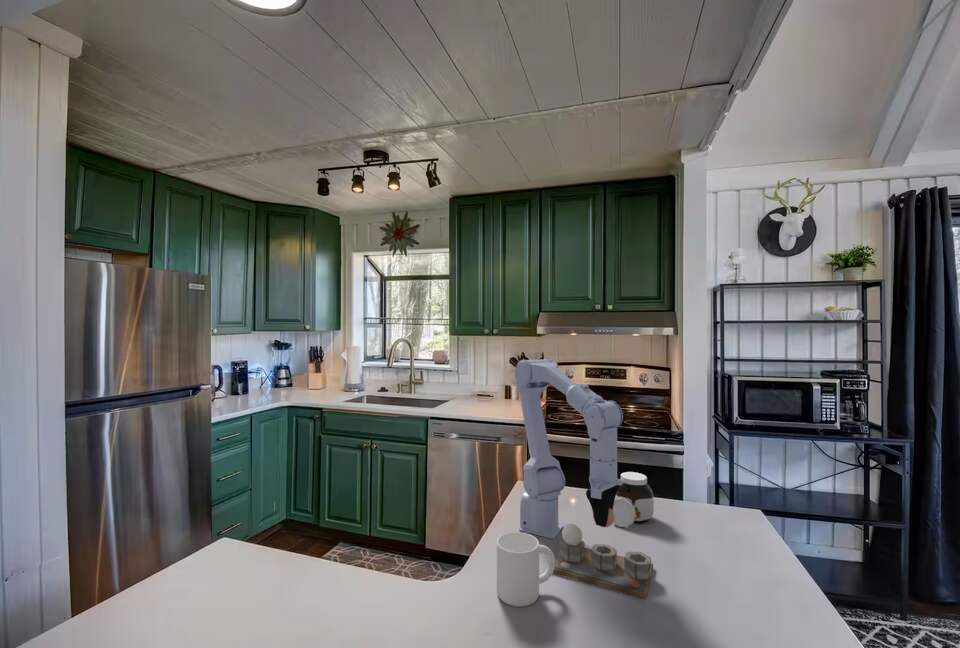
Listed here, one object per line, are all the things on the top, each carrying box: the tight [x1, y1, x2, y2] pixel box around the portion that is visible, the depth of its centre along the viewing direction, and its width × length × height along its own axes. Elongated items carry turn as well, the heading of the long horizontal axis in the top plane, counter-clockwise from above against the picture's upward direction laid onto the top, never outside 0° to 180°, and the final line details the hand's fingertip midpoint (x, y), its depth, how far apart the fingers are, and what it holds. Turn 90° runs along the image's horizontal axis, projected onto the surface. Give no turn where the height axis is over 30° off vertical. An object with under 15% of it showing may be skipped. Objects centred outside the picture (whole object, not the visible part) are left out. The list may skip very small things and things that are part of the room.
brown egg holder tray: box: [552, 538, 654, 600], centre depth 92 cm, size 19×12×4 cm, turn 62°
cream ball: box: [561, 523, 583, 546], centre depth 96 cm, size 4×4×4 cm
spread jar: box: [613, 471, 655, 528], centre depth 116 cm, size 12×11×12 cm
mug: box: [496, 531, 556, 608], centre depth 84 cm, size 12×8×10 cm
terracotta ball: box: [592, 508, 614, 528], centre depth 93 cm, size 4×4×4 cm
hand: (603, 520), depth 93 cm, fingers closed on terracotta ball, 4 cm apart
